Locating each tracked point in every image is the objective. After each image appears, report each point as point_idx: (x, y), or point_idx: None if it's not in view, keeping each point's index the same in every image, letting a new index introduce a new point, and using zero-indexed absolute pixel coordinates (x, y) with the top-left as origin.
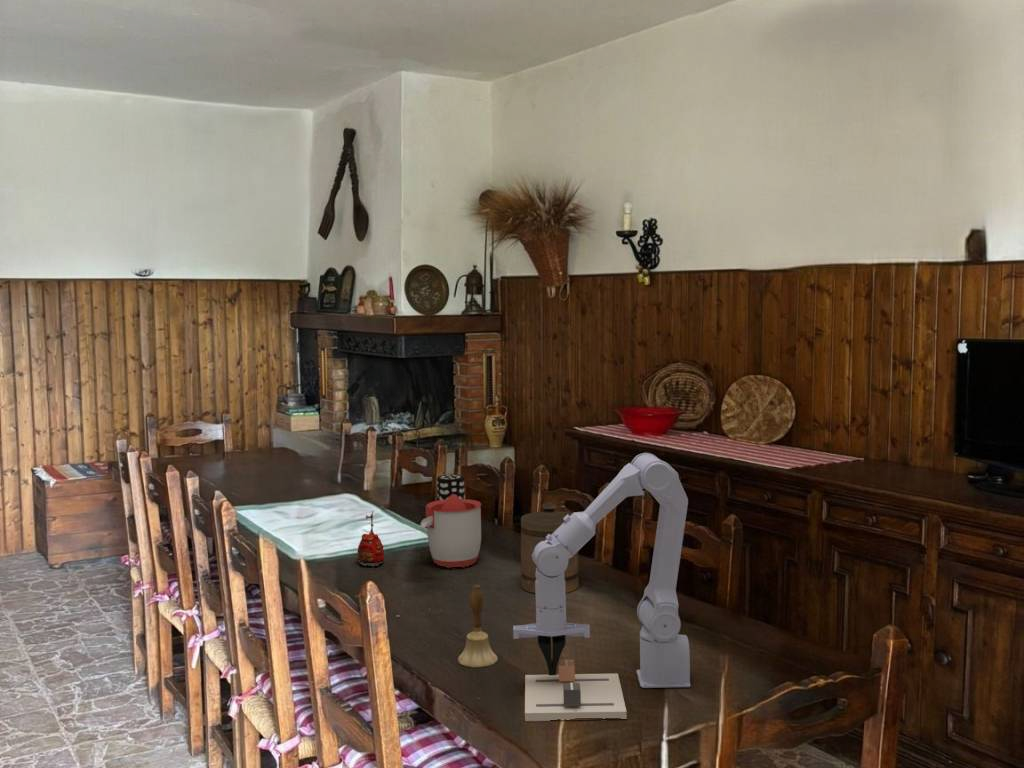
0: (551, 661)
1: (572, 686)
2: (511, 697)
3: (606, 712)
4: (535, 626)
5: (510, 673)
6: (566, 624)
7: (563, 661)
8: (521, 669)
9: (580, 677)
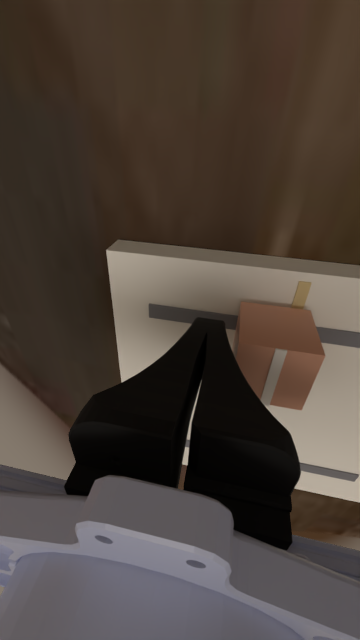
0: (192, 409)
1: None
2: (89, 336)
3: (317, 491)
4: (11, 570)
5: (42, 126)
6: (344, 616)
7: (262, 361)
8: (82, 67)
9: (336, 310)
